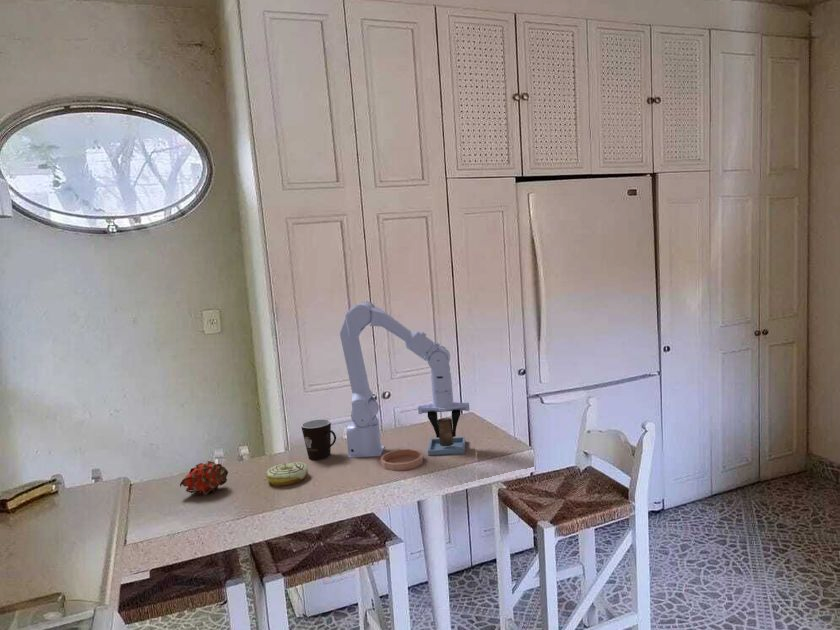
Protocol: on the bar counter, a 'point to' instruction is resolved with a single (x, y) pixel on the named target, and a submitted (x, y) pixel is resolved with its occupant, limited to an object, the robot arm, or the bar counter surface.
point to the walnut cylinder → (445, 432)
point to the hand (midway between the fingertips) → (446, 436)
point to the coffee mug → (318, 438)
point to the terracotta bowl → (401, 459)
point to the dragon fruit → (205, 478)
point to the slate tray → (447, 447)
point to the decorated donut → (287, 473)
